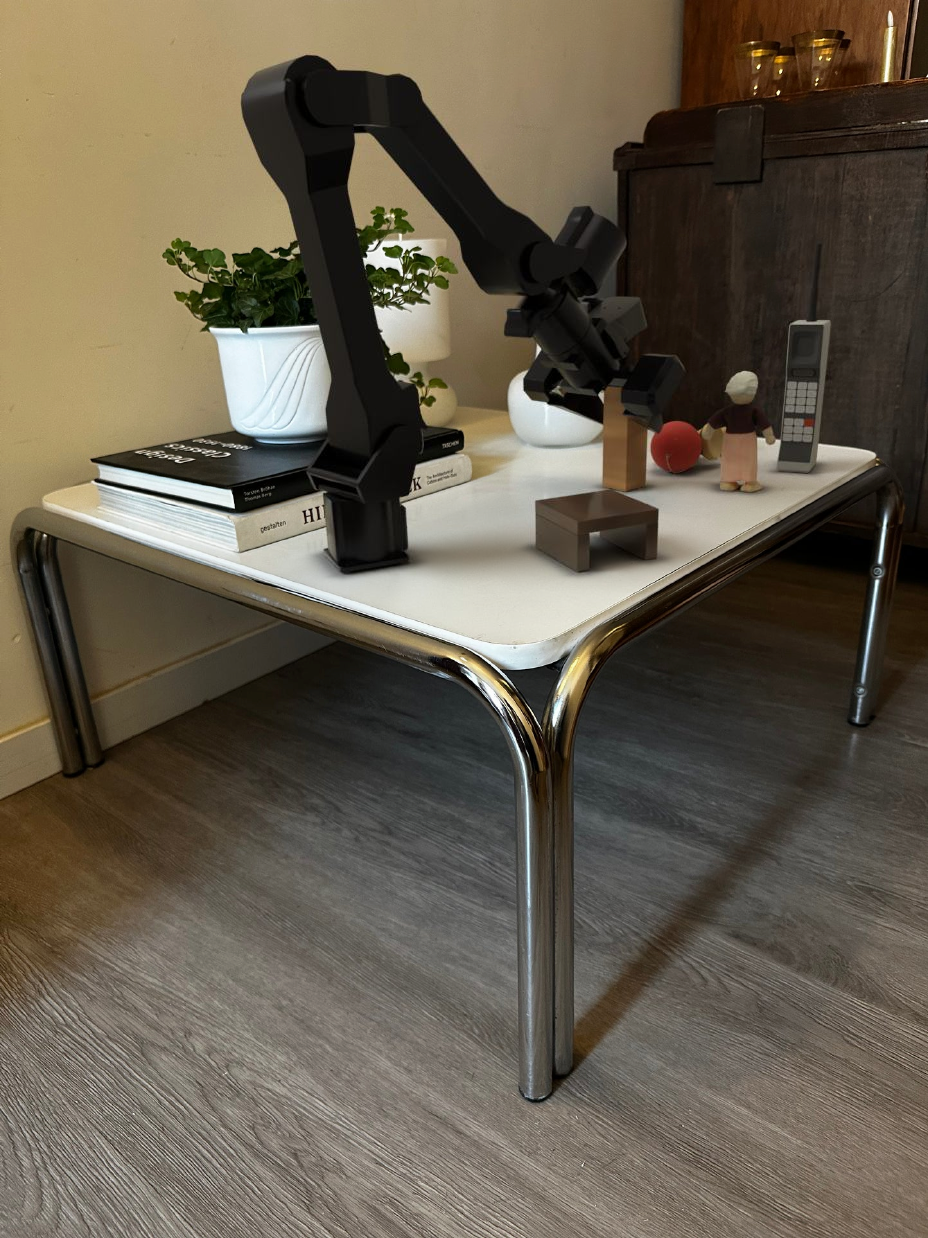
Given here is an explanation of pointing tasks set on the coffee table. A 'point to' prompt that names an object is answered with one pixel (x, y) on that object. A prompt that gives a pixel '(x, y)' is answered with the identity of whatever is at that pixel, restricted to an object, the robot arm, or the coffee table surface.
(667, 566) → the coffee table surface
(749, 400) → the grandmother figurine
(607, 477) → the block
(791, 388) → the vintage mobile phone
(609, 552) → the coffee table surface
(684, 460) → the kendama
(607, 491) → the shelf
